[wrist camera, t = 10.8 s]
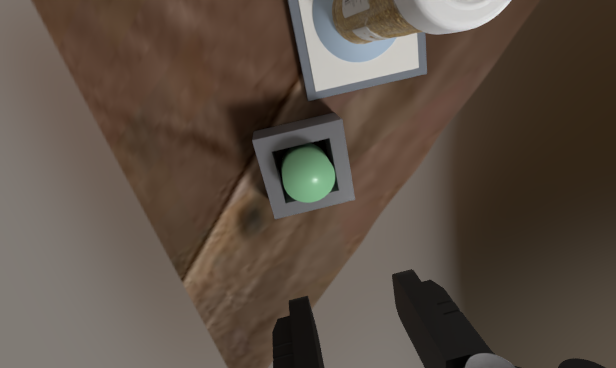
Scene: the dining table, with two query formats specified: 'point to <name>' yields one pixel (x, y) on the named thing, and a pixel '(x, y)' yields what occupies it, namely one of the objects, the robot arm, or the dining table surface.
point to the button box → (298, 135)
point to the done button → (307, 173)
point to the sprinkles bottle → (409, 17)
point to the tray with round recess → (349, 54)
